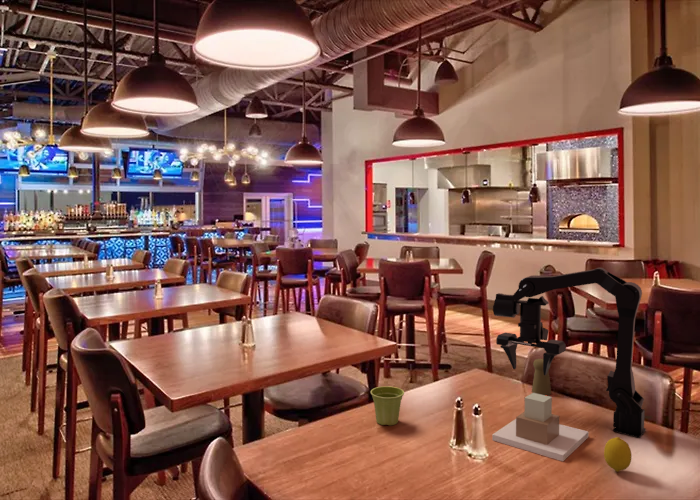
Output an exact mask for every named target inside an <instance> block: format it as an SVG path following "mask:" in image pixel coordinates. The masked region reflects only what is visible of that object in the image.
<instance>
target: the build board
mask: <svg viewBox="0 0 700 500" xmlns="http://www.w3.org/2000/svg"><path fill="white" fill-rule="evenodd" d="M524 412H525V411H523V412H521V413H520V414H518V415H517V416H516V417H515V419H513V420H511V422H509V423H507V424H506V425H504V426H502V427H501V428H500V429H499V430H497V431H495V432H494V433H492V435H491V436H492V439H491V440H492V441H493V442H497V443H500V444H503V445H507V446H510V447H513V448H517V449H520V450H523V451H527V452H530V453H533V454H537V455H541V456H543V457H547V458H550V459H553V460H557V461H559V462H564V461H565V460H566V459H567V458H568V457H569V456H570V455H572V454H573V452H574V451H576V450H578V448H579V447H580V446H581V445H582V444H583V443H584V442H585V441H586V440H587V439H588V438H589V434H590V433H589V431H587V430H584V429H579V428H576V427H573V426H572V427H571V426H568V425H564V424H560V415H558V414H553V413H552V416H551V417H550V418H548V419H547V420H546V421H544V422H542V421H539V420H535V419H531V418H527V417H524Z"/></svg>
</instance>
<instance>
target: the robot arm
mask: <svg viewBox="0 0 700 500" xmlns="http://www.w3.org/2000/svg"><path fill="white" fill-rule="evenodd" d="M592 284H596V285H599V286H600V287H601V288H603V289H604V290H605V291H606V292H607V293H608V294H610V295H612V296H614V298H615V304H616V305H615V306H616V310H617V316H618V327H617V328H618V329H617V341H616V356H615V357H616V358H615V360H616V361H615V369H614V371H612V370H610V371H609V373H608V374H607V386H606V390H605V391H606V392H608V396H609V398H610V400H611V401H612V402H613V403H614V404H615V410H614V411H613V419H612V421H613V424H612V426H613V427H614V428H613V430H612V431H613V432H615V433H619V434H623V435H628V436H630V437H635V438H641V437H642V435H644V434H645V432H646V431H647V429H646V428H645V412H646V411H645V408H644V409H643V404H644V401H645V399H644V397H643V396H642V395H641V394H640V393H639V392H638V391H637V389H636V385H635V383H636V382H635V377H634V372H633V358H634V357H633V355H634V339H635V325H636V317H637V313H638V309H639V307H640V303H641V300H642V297H643V296H642V295H643V290H642V287H640V286H639V284H638V283H635V282H632V281H626V280H625V279H622V277H619V276H618V275H617V276H616V275H615V274H613V273H611V272H609V271H608V270H607V269H605V268H603V267H596V268H594V269H589V270H588V269H587V270H582V271H575V272H570V273H565V274H558V275H536V274H535V275H529V276H527V277H524V278H522V279H521V280H520V281H519V283H518V289H517V290H516V291H515V292H514V293H513V294H505V293H499V292H498V293H496V294H495V299H494V302H493V305H492V313H493V315H494V316H495V317H504V318H516V315H519V322H518V323H517V326H518V328H519V336H517V334H516V333H511V332H502V333H501V334H498V335H497V336H496V339H495V341H496V342H495V343H496V345H499V346H500V349H502V350H503V351H504V353H505V355H506V356H507V358H508V361H509V363H510V365H511V367H512V369H513V370H516V369H517V348H518V345H519V346H520V345H521V346H527V347H534V348H539V349H543V350H544V351H545V352H544V353H543V354H542V359H543V373H544V375H546V374H547V372H548V370H550V369H549V367H550V368H551V364H552V361H553V360H554V359H555V357H556V356H558V355H560V354H562V353H564V352H566V351H567V350H566V348H567V346H566V345H567V344H566V343H565V341H564V340H557V339H550V340H548V337H549V332H550V330H549V329H547V328H546V327H544V325H543V322H542V306H543V307H544V306H547V305H548V304H549V301H548V300H547V299H546V298H545V297H544V296H543V294H544V293H548V292H551V291H553V290H559V289H565V288H571V287H579V286H587V285H592ZM541 294H542V295H541ZM539 295H541V296H540V297H538V298H535V297H536V296H539ZM533 297H534V298H533ZM524 298H527V300H524ZM521 299H522V300H521Z"/></svg>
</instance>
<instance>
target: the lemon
mask: <svg viewBox="0 0 700 500" xmlns="http://www.w3.org/2000/svg"><path fill="white" fill-rule="evenodd" d="M603 457H604V461H605V463H606V464H607V465H608V466H609V467H610V468H611V469H613V470H614V471H615V472H616V473H619V472H621V471H624V470H626V469H628V468H629V466H630V464H631V462H632V450H631V448H630V446H629V444H628V443H627V442H626V441H625V440H624V439H622V438H621V437H619V436H616V437H612V438H610V439H608V440H607V442H606V443H605V445H604V449H603Z"/></svg>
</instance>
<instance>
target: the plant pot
mask: <svg viewBox="0 0 700 500" xmlns="http://www.w3.org/2000/svg"><path fill="white" fill-rule="evenodd" d="M404 394H405V391H404V389H402V388H400V387H395V386H389V385H386V386H378V387H374V388H372V389H371V390H370V395H371V396H372V399H373V404H374V412H375V420H376V423H377V424H379V425H381V426H384V425H388V426H394V425H396V424H398V422H399V417H400V411H401V410H400V409H401V405H402V404H401V403H402V399H403V396H404Z"/></svg>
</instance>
